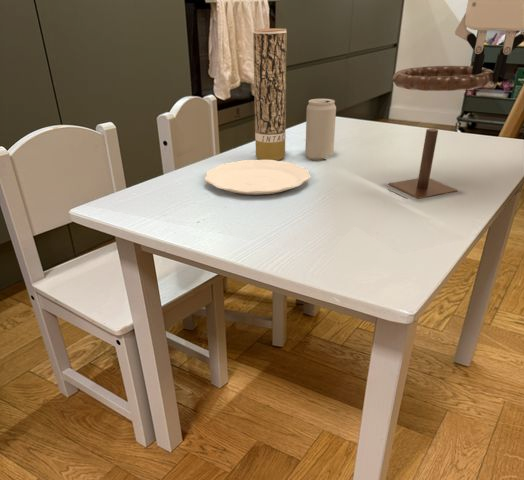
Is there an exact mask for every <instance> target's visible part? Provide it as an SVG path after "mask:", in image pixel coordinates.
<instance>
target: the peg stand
mask: <svg viewBox="0 0 524 480" xmlns="http://www.w3.org/2000/svg"><path fill="white" fill-rule="evenodd" d="M425 130H426V131H425V136H424V143H423V149H422V154H421V160H420V166H419V172H418V178H412V179H407V180H401V181H395V182H389V183H388V186H390V187H392V188H395V189H396V190H398V191H400V192H402V193H405V194H407V195H409V196H411V197H413V198H415V199H417V200H421V199H422V200H423V199H426V198H431V197H436V196H442V195H447V194H452V193H457V192H458V191H459V190H458V189H456V188H453V187H451V186H448V185H446V184H443V183H442V182H439V181H436V180H434V179H431V173H432V172H431V171H432V167H433V162H434V156H435V150H436V145H437V139H438V134H439V129H437V128H427V129H425ZM387 190H388V191H390V192H392V193H394V194H396V195H398V196H399V197H402V198H403V199H406V200H408V199H409V198H408V197H405V196H403V195H402V194H399V193H397V192H395V191H393V190H391V189H389V188H388V189H387Z"/></svg>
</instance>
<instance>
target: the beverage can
mask: <svg viewBox="0 0 524 480" xmlns="http://www.w3.org/2000/svg"><path fill="white" fill-rule="evenodd" d="M335 102H336V100H335V99H332V98H313V99H309V100H308V104H307V106H306V119H305V120H306V121H305V151H304V153H305V154H304V155H305V156H306V157H307V158H308V159H309V160H311V161H318V162H319V161H327V160H328V159H327V157H328V158H329V157H332V156H334V149H335V147H334V146H335V131H336V116H337V106H336V104H335Z"/></svg>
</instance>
